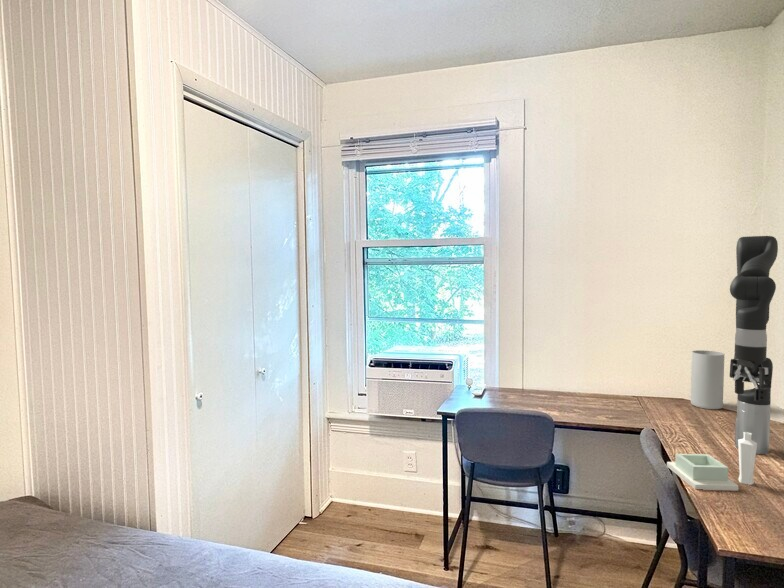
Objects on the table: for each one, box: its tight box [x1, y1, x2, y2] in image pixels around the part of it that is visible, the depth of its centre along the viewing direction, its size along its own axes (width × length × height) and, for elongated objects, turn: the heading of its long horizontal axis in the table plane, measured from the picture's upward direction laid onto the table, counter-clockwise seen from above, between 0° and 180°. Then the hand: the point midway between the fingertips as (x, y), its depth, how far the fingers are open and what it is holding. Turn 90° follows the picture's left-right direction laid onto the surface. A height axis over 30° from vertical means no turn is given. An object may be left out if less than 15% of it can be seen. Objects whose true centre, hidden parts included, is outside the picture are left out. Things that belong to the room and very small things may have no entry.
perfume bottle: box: [737, 432, 757, 486], centre depth 140 cm, size 5×4×15 cm
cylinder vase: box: [690, 349, 725, 410], centre depth 215 cm, size 12×12×25 cm
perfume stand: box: [666, 453, 740, 492], centre depth 143 cm, size 16×12×6 cm
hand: (748, 397), depth 139 cm, fingers open, 8 cm apart
